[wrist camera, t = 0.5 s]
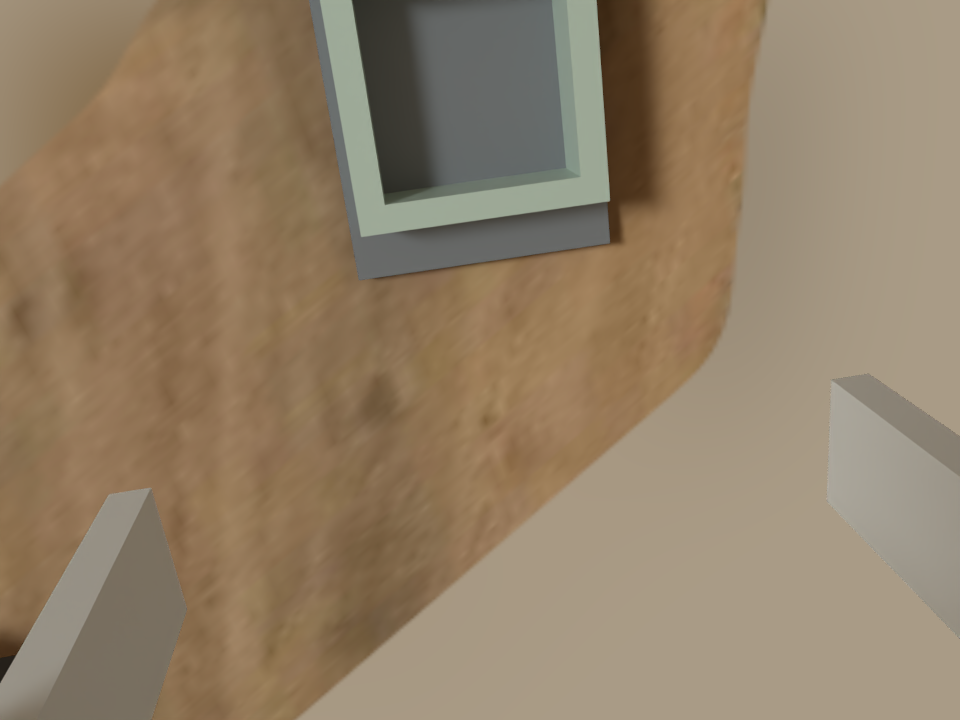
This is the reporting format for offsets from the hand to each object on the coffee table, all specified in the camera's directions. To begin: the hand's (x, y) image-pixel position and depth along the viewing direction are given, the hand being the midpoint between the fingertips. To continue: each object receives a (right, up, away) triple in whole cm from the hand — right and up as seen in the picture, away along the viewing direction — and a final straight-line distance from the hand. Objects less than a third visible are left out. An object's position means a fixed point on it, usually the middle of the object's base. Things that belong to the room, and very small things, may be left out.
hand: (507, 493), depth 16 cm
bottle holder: (-1, +15, +22) cm, 27 cm away
